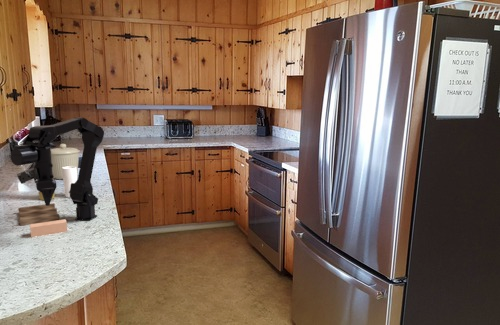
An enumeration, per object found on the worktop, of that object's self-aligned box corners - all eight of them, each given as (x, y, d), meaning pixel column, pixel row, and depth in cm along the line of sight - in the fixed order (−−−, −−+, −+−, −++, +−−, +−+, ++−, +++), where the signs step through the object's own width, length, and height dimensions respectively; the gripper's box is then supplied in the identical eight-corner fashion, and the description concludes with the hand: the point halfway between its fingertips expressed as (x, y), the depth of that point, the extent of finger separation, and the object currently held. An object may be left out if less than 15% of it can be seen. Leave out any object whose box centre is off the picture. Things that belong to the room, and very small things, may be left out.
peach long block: (65, 229, 150) (65, 219, 149) (67, 232, 147) (66, 222, 146) (30, 234, 144) (29, 224, 143) (31, 238, 141) (30, 227, 140)
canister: (73, 181, 227) (70, 146, 223) (42, 180, 227) (39, 145, 223) (86, 175, 245) (84, 142, 241) (58, 174, 245) (55, 141, 241)
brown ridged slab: (54, 208, 175) (54, 203, 174) (59, 220, 159) (59, 214, 159) (18, 213, 167) (18, 207, 167) (20, 225, 152) (19, 219, 152)
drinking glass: (62, 198, 191) (60, 168, 188) (65, 195, 197) (63, 166, 195) (77, 197, 193) (75, 168, 190) (79, 194, 199) (77, 165, 196)
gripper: (16, 158, 144) (20, 199, 147) (17, 167, 128) (22, 212, 131) (50, 156, 150) (53, 195, 153) (55, 164, 134) (58, 207, 137)
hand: (46, 202), depth 143 cm, fingers open, 9 cm apart
